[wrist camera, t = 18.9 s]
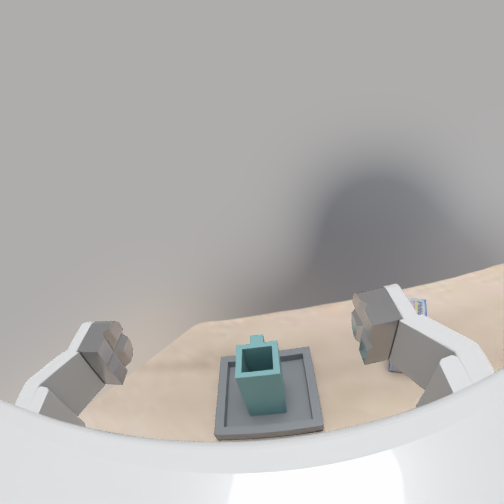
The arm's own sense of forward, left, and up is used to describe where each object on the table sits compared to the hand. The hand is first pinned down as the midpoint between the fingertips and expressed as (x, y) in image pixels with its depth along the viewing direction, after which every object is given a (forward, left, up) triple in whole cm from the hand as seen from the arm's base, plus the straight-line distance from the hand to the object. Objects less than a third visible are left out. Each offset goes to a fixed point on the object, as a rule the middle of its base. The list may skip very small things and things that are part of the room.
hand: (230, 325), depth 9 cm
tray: (+2, -15, -30) cm, 34 cm away
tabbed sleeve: (+2, -14, -29) cm, 33 cm away
